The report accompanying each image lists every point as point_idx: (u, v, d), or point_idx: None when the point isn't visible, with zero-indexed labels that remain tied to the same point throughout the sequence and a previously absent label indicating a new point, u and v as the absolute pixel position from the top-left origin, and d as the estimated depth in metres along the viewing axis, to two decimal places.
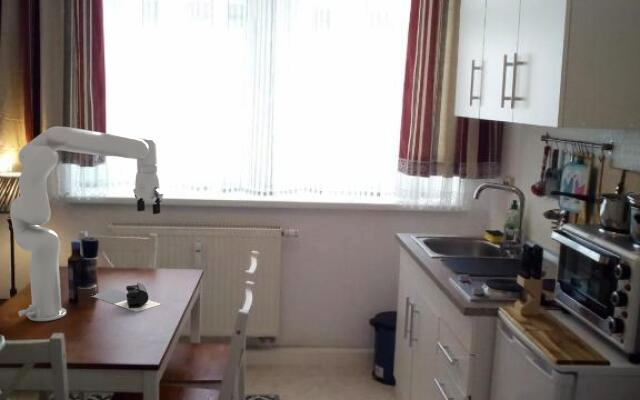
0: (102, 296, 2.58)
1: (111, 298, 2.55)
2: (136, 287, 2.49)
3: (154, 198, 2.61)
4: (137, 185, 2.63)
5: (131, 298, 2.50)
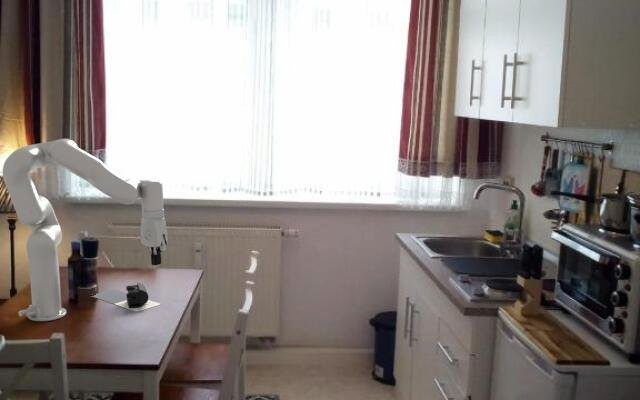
0: (102, 296, 2.58)
1: (111, 298, 2.55)
2: (136, 287, 2.49)
3: (157, 247, 2.37)
4: (143, 232, 2.37)
5: (131, 298, 2.50)
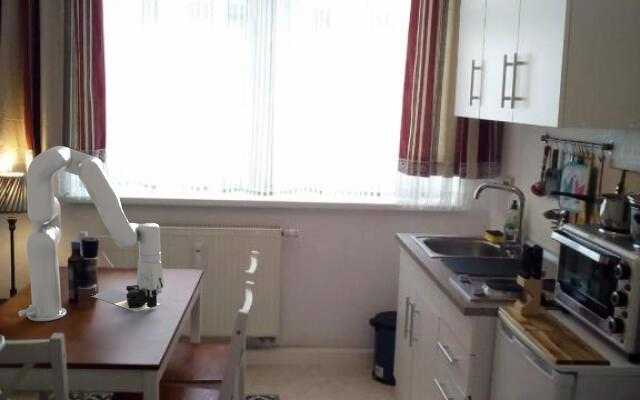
0: (102, 296, 2.58)
1: (111, 298, 2.55)
2: (136, 287, 2.49)
3: None
4: (139, 274, 2.41)
5: (131, 298, 2.50)
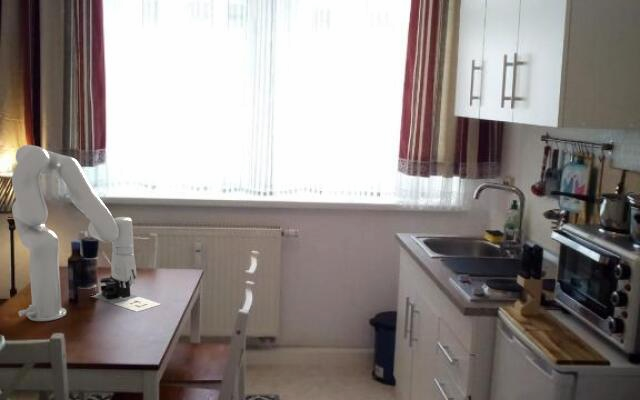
0: (102, 296, 2.58)
1: None
2: (111, 279, 2.59)
3: None
4: (113, 266, 2.51)
5: (106, 290, 2.60)
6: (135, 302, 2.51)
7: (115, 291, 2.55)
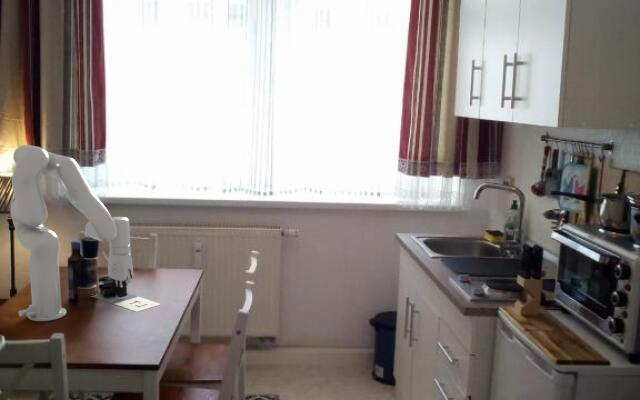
0: (102, 296, 2.58)
1: (111, 298, 2.55)
2: (109, 278, 2.61)
3: (123, 280, 2.53)
4: (110, 266, 2.52)
5: (104, 289, 2.61)
6: (135, 302, 2.51)
7: (112, 290, 2.57)
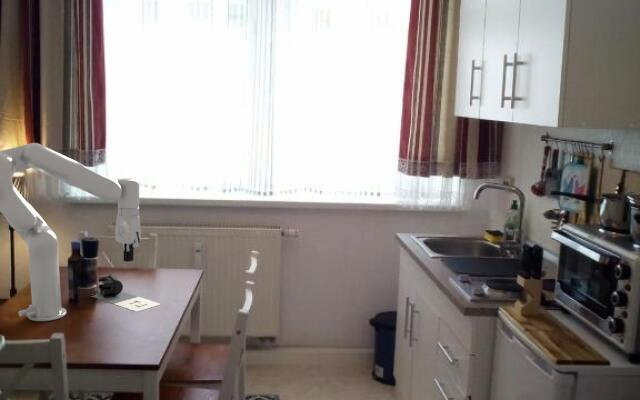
0: (102, 296, 2.58)
1: (111, 298, 2.55)
2: (109, 278, 2.61)
3: (130, 244, 2.46)
4: (117, 228, 2.46)
5: (104, 289, 2.61)
6: (135, 302, 2.51)
7: (112, 290, 2.57)
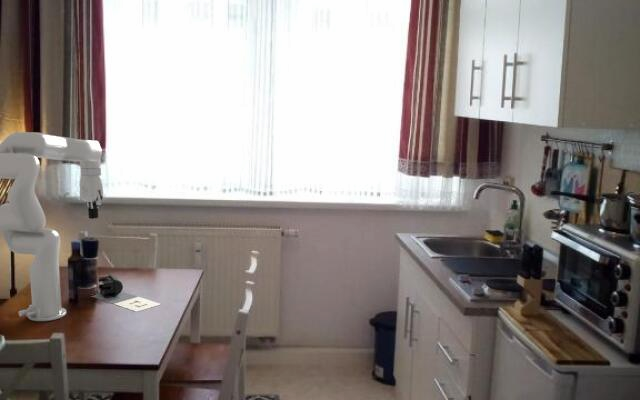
0: (102, 296, 2.58)
1: (111, 298, 2.55)
2: (109, 278, 2.61)
3: (94, 202, 2.62)
4: (81, 188, 2.61)
5: (104, 289, 2.61)
6: (135, 302, 2.51)
7: (112, 290, 2.57)
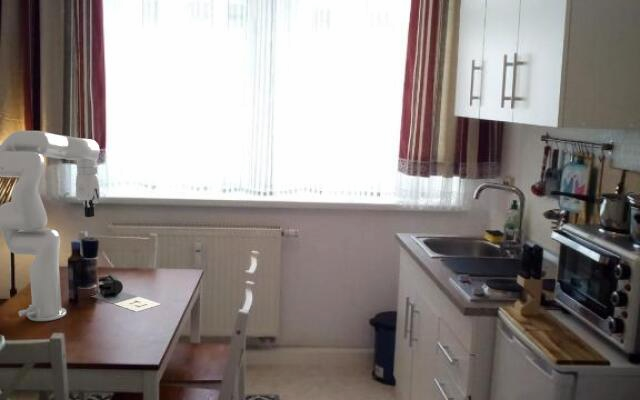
0: (102, 296, 2.58)
1: (111, 298, 2.55)
2: (109, 278, 2.61)
3: None
4: (77, 186, 2.63)
5: (104, 289, 2.61)
6: (135, 302, 2.51)
7: (112, 290, 2.57)
